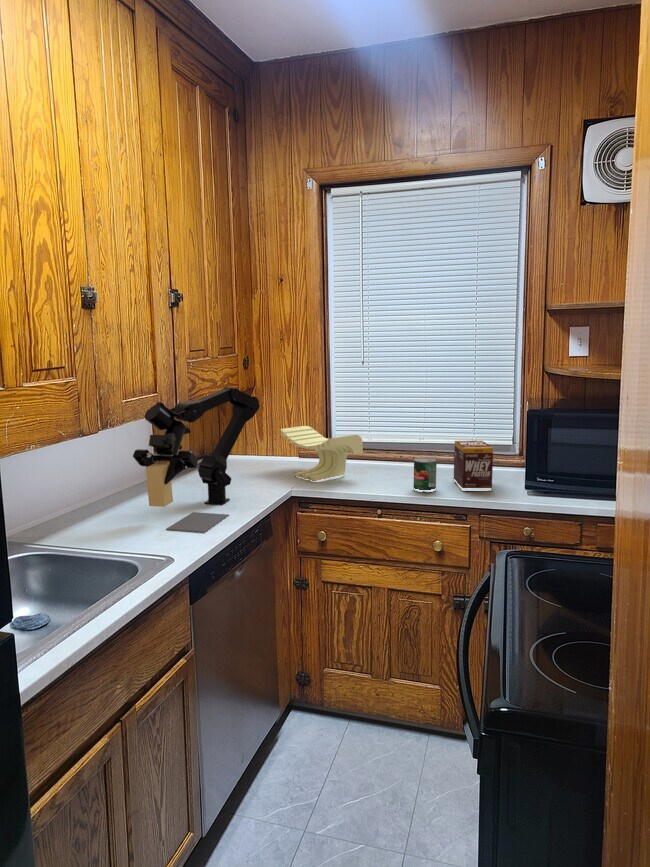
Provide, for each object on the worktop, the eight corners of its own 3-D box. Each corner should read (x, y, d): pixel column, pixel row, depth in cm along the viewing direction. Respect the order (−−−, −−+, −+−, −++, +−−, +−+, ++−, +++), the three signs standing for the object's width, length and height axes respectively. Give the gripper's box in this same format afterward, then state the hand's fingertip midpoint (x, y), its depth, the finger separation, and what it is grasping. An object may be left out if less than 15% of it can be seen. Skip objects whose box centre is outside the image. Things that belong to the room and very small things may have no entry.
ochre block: (157, 501, 187) (154, 463, 185) (172, 501, 186) (169, 464, 184) (149, 506, 182) (145, 467, 180) (164, 506, 181) (161, 468, 179)
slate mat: (193, 513, 195) (193, 512, 195) (229, 515, 192) (229, 514, 192) (166, 530, 178) (166, 528, 178) (204, 533, 175) (204, 531, 175)
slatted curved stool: (362, 480, 236) (362, 433, 233) (330, 487, 226) (329, 438, 223) (312, 467, 258) (312, 424, 256) (281, 473, 248) (280, 429, 246)
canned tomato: (410, 491, 219) (410, 460, 217) (417, 486, 226) (417, 456, 224) (432, 493, 215) (433, 462, 213) (438, 488, 222) (439, 458, 220)
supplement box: (462, 492, 217) (463, 447, 215) (453, 481, 233) (454, 440, 230) (492, 491, 217) (493, 447, 215) (481, 481, 233) (482, 440, 230)
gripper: (133, 422, 186) (115, 467, 177) (190, 423, 181) (175, 469, 173) (149, 443, 195) (132, 487, 186) (204, 444, 190) (190, 489, 182)
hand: (156, 483), depth 182 cm, fingers closed on ochre block, 5 cm apart
